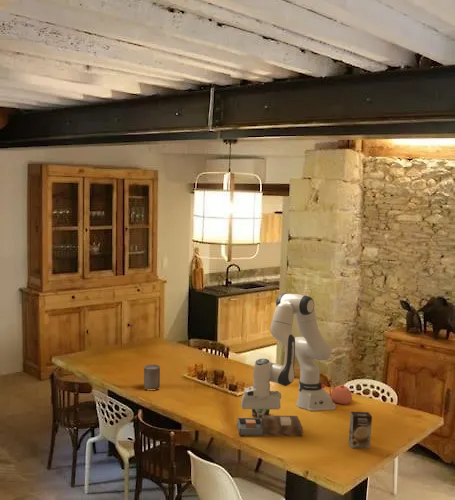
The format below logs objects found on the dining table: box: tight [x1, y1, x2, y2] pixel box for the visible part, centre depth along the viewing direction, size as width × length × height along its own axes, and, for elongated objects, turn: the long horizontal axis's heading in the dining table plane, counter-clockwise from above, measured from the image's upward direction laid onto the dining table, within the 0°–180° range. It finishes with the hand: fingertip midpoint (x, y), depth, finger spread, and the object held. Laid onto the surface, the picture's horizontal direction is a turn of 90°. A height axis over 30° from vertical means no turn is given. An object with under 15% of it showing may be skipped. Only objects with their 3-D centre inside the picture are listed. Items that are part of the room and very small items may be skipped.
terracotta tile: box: [245, 420, 256, 428], centre depth 307 cm, size 5×5×2 cm
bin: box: [236, 417, 265, 437], centre depth 304 cm, size 12×15×4 cm
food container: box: [251, 409, 271, 418], centre depth 323 cm, size 12×6×10 cm, turn 105°
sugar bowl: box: [328, 384, 353, 405], centre depth 351 cm, size 12×14×10 cm
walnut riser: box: [261, 414, 303, 437], centre depth 304 cm, size 19×15×5 cm
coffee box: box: [348, 411, 373, 449], centre depth 288 cm, size 9×6×16 cm
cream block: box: [280, 417, 291, 425], centre depth 301 cm, size 5×5×2 cm
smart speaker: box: [143, 364, 161, 390], centre depth 364 cm, size 10×10×15 cm
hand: (260, 417), depth 307 cm, fingers closed
